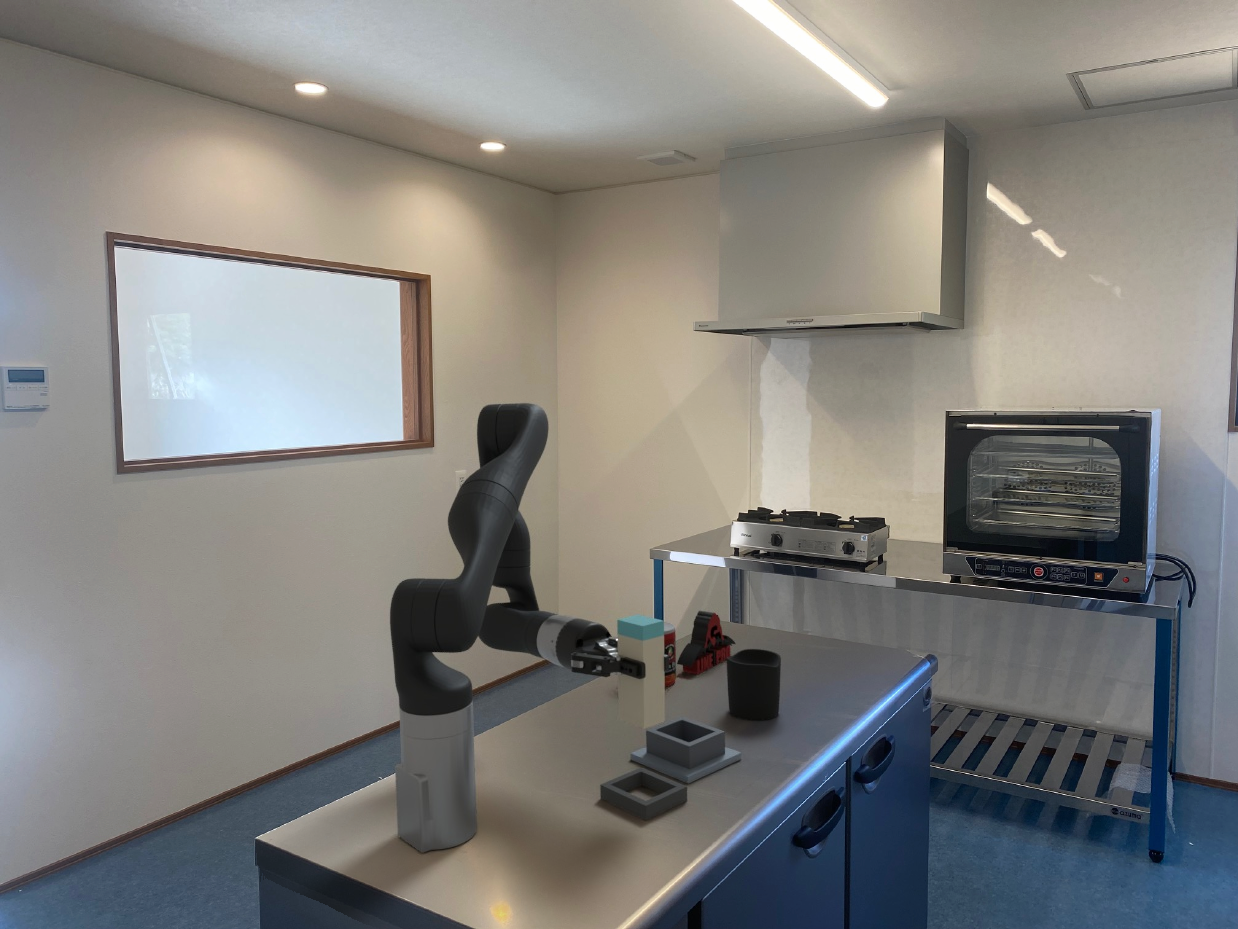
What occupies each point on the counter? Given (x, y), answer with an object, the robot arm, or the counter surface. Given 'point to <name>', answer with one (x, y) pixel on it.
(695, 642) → the logo sign
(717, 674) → the counter surface
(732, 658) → the pen holder
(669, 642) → the canned food
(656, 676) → the plug
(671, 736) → the port
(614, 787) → the gray square frame
